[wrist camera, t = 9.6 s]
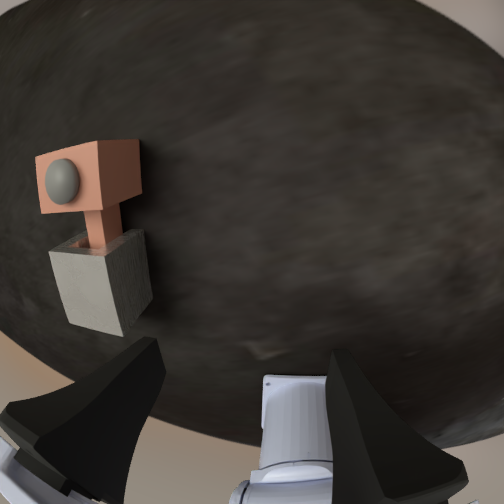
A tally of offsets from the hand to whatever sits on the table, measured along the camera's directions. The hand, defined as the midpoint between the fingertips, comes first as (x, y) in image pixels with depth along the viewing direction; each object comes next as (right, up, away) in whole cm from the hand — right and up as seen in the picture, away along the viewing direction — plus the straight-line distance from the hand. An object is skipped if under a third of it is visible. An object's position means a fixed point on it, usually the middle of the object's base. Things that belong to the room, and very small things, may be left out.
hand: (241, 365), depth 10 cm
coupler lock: (-10, +4, +11) cm, 15 cm away
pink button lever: (-10, +6, +10) cm, 15 cm away
